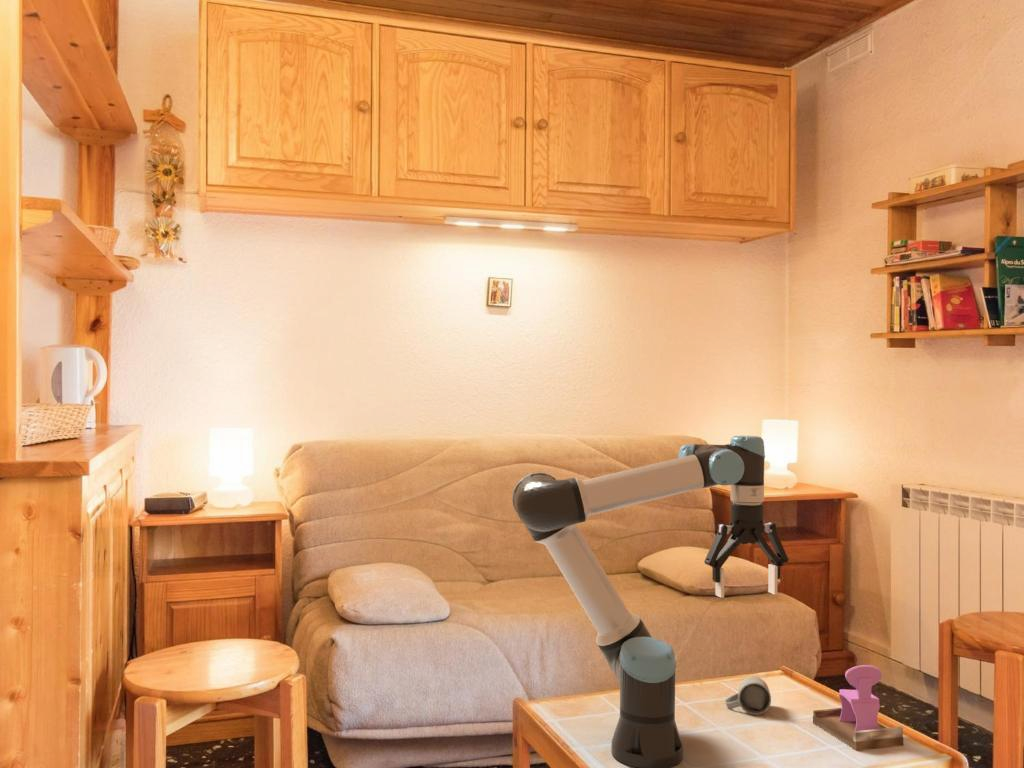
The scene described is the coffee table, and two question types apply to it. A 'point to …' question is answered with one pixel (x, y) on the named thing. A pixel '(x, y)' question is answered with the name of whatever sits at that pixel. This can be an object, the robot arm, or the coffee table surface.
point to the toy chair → (861, 697)
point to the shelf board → (857, 739)
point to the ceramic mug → (751, 696)
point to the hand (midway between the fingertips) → (746, 595)
